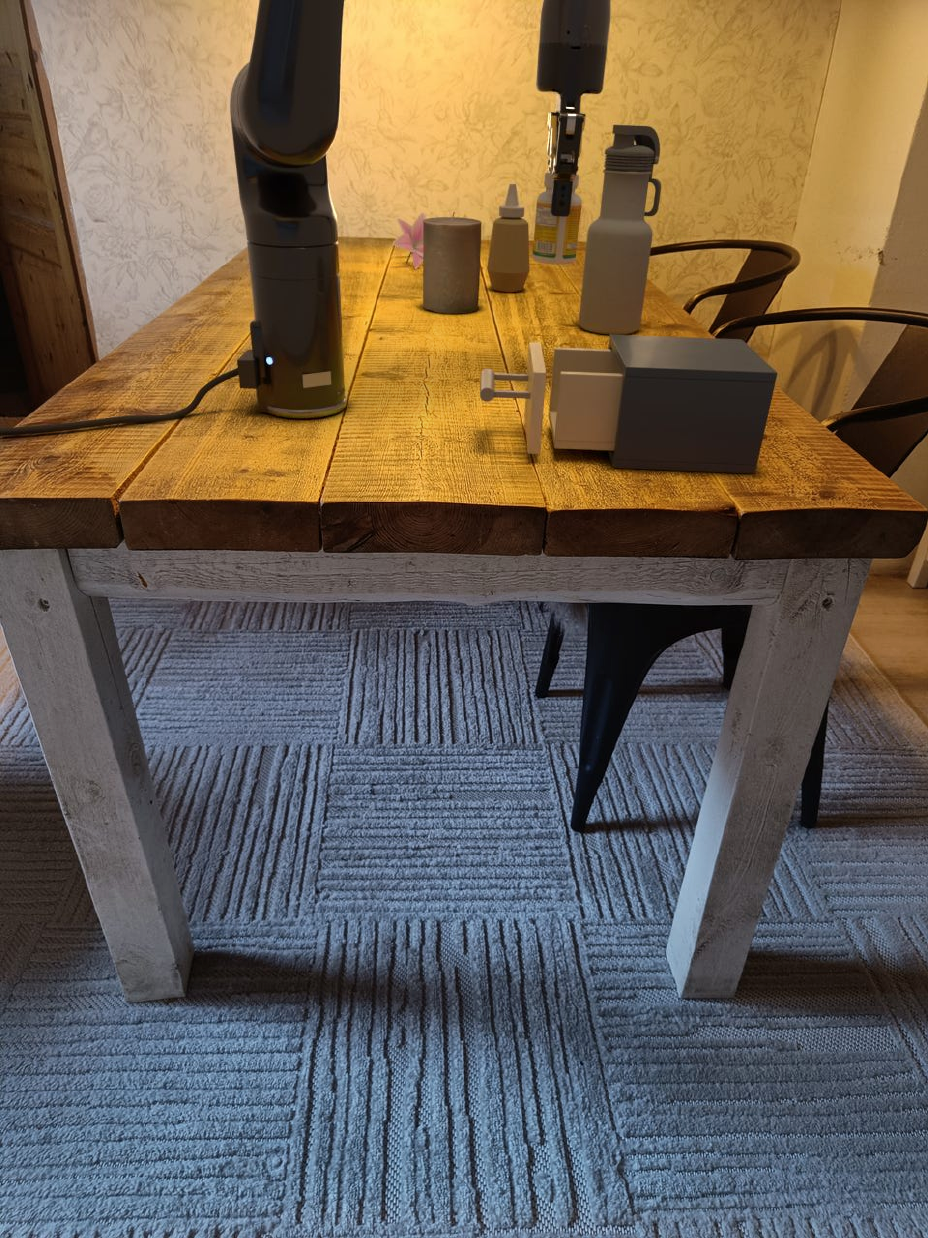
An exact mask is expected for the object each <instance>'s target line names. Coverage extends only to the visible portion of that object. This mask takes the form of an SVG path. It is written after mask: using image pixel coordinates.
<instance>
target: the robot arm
mask: <svg viewBox="0 0 928 1238" xmlns="http://www.w3.org/2000/svg"><path fill="white" fill-rule="evenodd" d="M611 2H612V1H611V0H543V2H542V5H541V13H540V22H539V35H538V48H537V49H538V50H537V65H536V76H535V77H536V78H535V88H536V91H538V92H541V93H548V94H549V93H552V94H555V97H556V101H555V102H556V103H555V110H554V111H548V118H547V129H548V138H547V139H548V140H547V156H548V160H547V165H548V168H547V171H548V172H547V173H552V175H553V179H557V180H553V190H552V202H551V214H552V215H553V216H561V217H567V216H568V215H569V214H570V208H571V197H572V187H573V181H570V180H574V179H575V177H576V174H577V175H578V172H579V158H580V156H581V153H582V144H583V132H584V131H585V127H586V117H587V116H586V113H582V112H581V101H582V100H581V99H582V96H583V95H600V94H601V93H602V92H603V90H604V83H605V75H606V65H607V57H608V48H609V47H608V45H609V39H610V38H609V36H610V28H611V27H610V26H611V18H612V17H611V15H612V14H611V11H612V9H611V8H612V7H611V6H612V5H611V4H612V3H611ZM345 5H346V0H259V1H258V7H257V13H256V14H257V16H256V21H255V22H256V23H255V28H254V37H253V41H252V47H251V52H250V57H249V61H248V62H247V63H246V64H244V65H243V67H242V68H241V69H240V70H239V71H238V73H237V75H236V77H235V79H234V81H233V83H232V86H231V91H230V99H229V101H230V102H229V111H230V124H231V125H230V126H231V136H232V146H233V152H234V162H235V163H234V164H235V170H236V179H237V185H238V186H237V187H238V197H239V203H240V207H241V212H242V215H243V216H242V217H243V221H244V227H245V236H246V244H247V245H246V246H247V253H248V254H247V255H248V264H249V275H250V284H251V295H252V305H253V316H254V319H253V320H251V322H250V323H249V332H250V343H251V349H247V350H246V351H244V353H242V354H241V355H240V356H239V357H238V358H237V359H236V366H237V367H236V368H233V369H232V370H229V371H227V372H225V373H222V374H220V375H219V376H216V377H214V378H212V379H211V380H210V381H208V382H207V383H206V384H204V385H203V386H202V387H200V389H199V390H198V392H197V393H196V395H195V396H194V398H193V399H192V401H191V402H190V403H189V404H188V405H187V406H186V407H184V408H181V409H180V410H177V411H174V412H171V413H166V414H165V413H164V414H155V415H154V414H152V415H151V414H150V415H149V414H148V415H145V414H143V415H142V414H141V415H139V414H135V415H120V416H113V417H112V416H111V417H103V418H96V419H88V420H81V421H73V422H64V423H54V424H42V425H41V424H40V425H29V426H16V427H15V426H14V427H13V426H12V427H0V436H1V437H2V436H3V437H4V436H21V435H22V436H23V435H33V434H47V433H57V432H65V431H74V430H82V429H90V428H97V427H99V428H100V427H105V426H113V425H120V424H133V423H134V424H137V423H138V424H139V423H140V424H141V423H158V422H165V421H171V420H172V421H173V420H177V419H181V418H183V417H186V416H188V415H190V414H191V413H193V412H194V411H195V410H196V409H197V408H198V406H199V405H200V403H201V402H202V400H203V399H204V397H205V396H206V395H207V393H209V392H210V391H211V390H212V389H213V388H215V387H217V386H218V385H220V384H222V383H225V382H226V381H229V380H231V379H233V378H235V377H237V376H238V382H239V389H248V390H249V389H252V390H256V400H257V412H258V413H266V414H270V415H274V416H277V417H283V418H290V419H312V418H322V417H327V416H331V415H335V414H337V413H340V412H341V411H343V410H345V408H346V407H347V395H346V382H345V360H344V356H345V355H344V339H343V334H344V333H343V316H342V315H343V314H342V294H341V292H342V291H341V274H340V272H341V269H340V252H339V251H340V249H339V248H340V247H339V229H338V216H337V212H336V210H335V207H334V204H333V200H332V196H331V190H330V186H329V172H328V158H327V153H328V152H329V150H330V148H331V147H332V145H333V144H334V142H335V138H336V137H337V133H338V130H339V126H340V117H341V97H342V95H341V93H342V62H343V35H344V34H343V33H344V18H345V17H344V16H345Z"/></svg>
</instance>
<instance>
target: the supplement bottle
mask: <svg viewBox="0 0 928 1238" xmlns="http://www.w3.org/2000/svg"><path fill="white" fill-rule="evenodd" d="M553 180H557V179H553V175H552V173H549V172H546V173H544V181H543V184H544V187H545V191H542V192H541V193H540V194H539V195H538V196H537V198H536V206H535V207H536V208H535V218H534V230H533V231H534V232H533V244H532V255H531V257H532V260H533V261H534V262H535V263H537V264H543V265H549V266H550V265H551V266H553V265H554V266H564V265H565V266H566V265H573V264H574V263H575V262H576V259H577V249H578V241H579V232H580V223H581V213H582V204H583V200H582V197H581V195H580V194H578V193H576V189H578V187H579V182H580V175H579V174H578V173H577V174H576V177H575V179H574V180H570V181H573V187H572V197H571V208H570V214H569V215H568V216H567V217H561V216H553V215H552V214H551V202H552V190H553Z"/></svg>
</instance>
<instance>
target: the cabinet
mask: <svg viewBox="0 0 928 1238" xmlns="http://www.w3.org/2000/svg"><path fill="white" fill-rule="evenodd" d="M607 349H609V350H612V351H613V353H614V355H615V357H616V359H617V361H618V363H619V365H620V367H621V369H622V371H623V373H624V376H623V384H622V392H621V399H620V407H619V415H618V422H617V430H616V438H615V446H614V450H606V451H607V453H608V456H609V460H610V463H611V465H612V468H613V469H621V470H622V469H623V470H624V469H625V470H626V469H627V470H651V471H674V472H676V471H678V472H701V473H723V474H724V473H725V474H727V473H728V474H747V475H749V474H750V475H753V474H755V473H756V470H757V465H758V462H759V458H760V454H761V453H760V452H761V449H762V444H763V439H764V436H765V431H766V427H767V422H768V418H769V413H770V409H771V404H772V401H773V396H774V391H775V387H776V382H777V377H778V372H777V371H776V370H775V369H774V368H773V367H772V366H771V365H770V364H769V363H768V362H767V361H766V360H765V359H763V358H762V357H761V356H760V355H759V354H758V353H757V352H756V351H755V350H754V349H753V348H752V347H751V346H750V345H749V344H747V343H746V342H745V340H743V339H739V338H714V337H713V338H712V337H690V336H689V337H687V336H686V337H685V336H662V335H661V336H659V335H634V334H631V335H630V334H624V335H609V338H608V346H607Z"/></svg>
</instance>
